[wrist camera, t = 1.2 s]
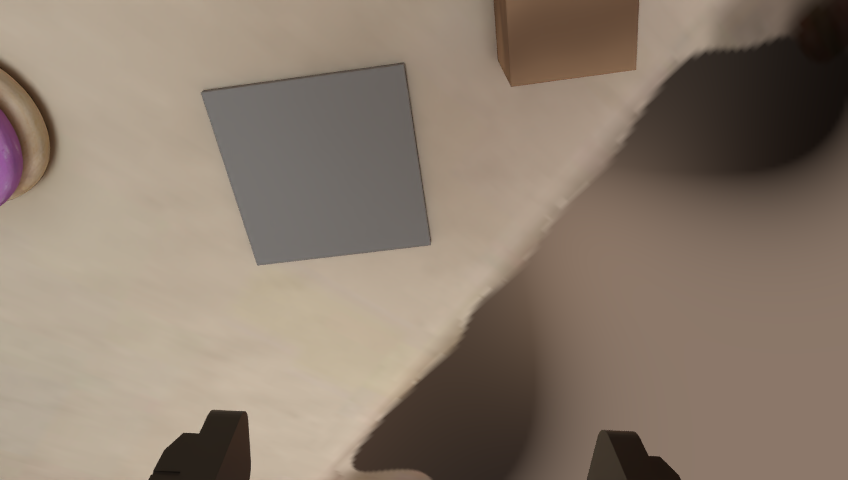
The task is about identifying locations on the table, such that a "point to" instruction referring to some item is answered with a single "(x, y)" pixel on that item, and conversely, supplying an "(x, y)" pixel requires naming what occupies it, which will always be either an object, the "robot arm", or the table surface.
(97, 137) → the table surface
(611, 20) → the cube
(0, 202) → the stacking toy
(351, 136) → the mat
